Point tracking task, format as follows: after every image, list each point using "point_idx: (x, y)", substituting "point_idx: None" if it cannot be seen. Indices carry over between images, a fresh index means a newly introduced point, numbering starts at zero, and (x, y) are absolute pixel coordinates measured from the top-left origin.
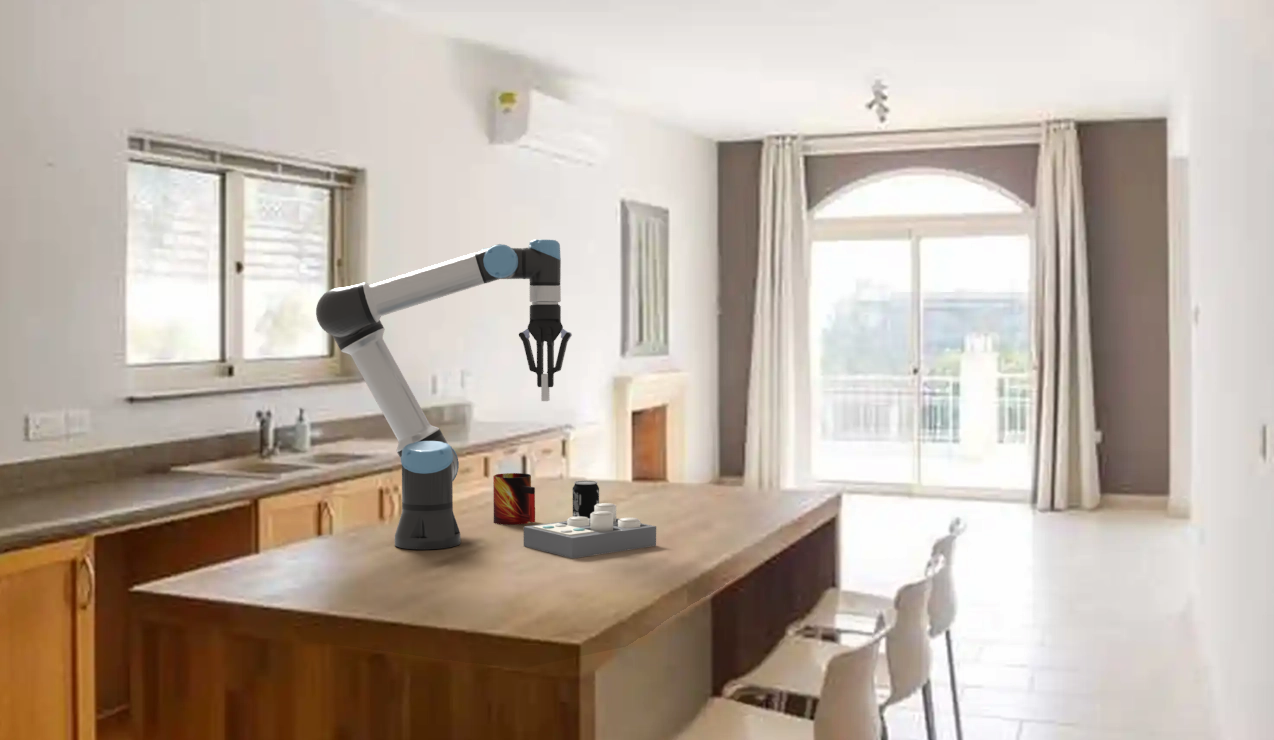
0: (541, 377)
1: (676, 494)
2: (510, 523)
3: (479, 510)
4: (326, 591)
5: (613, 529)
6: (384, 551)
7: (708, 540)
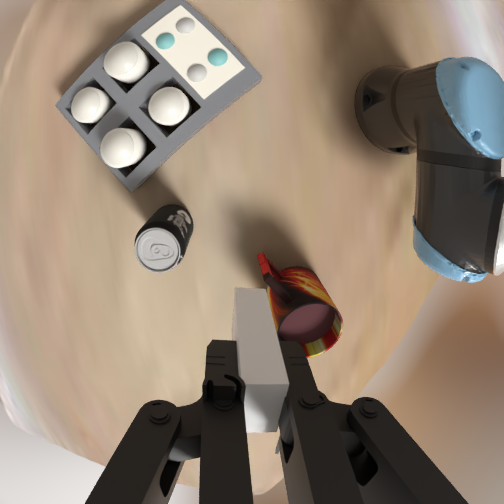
0: (284, 368)
1: None
2: (296, 267)
3: (337, 364)
4: None
5: (113, 79)
6: None
7: (16, 159)
